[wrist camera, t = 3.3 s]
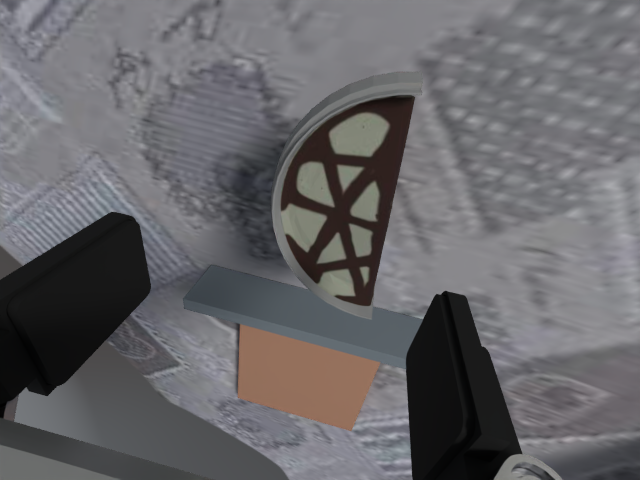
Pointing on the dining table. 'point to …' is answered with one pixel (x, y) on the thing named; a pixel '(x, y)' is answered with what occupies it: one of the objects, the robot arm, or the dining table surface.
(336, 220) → the food container
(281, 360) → the mat
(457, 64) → the dining table surface
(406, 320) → the acrylic wall
